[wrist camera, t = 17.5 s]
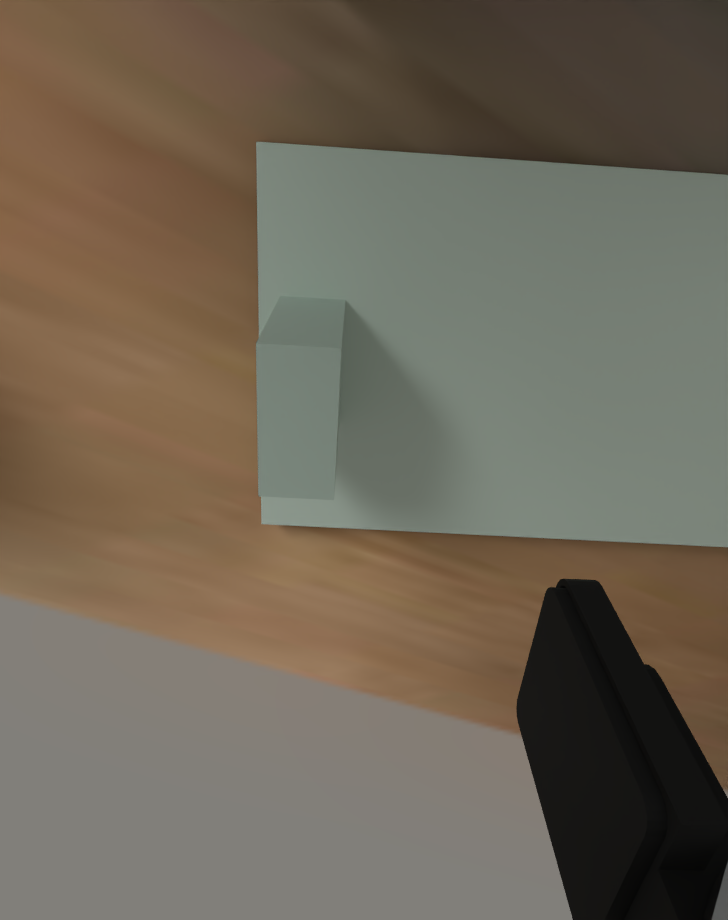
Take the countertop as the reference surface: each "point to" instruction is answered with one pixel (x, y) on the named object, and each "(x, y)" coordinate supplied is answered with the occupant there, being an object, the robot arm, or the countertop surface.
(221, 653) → the countertop surface
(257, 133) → the countertop surface
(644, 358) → the lid
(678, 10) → the countertop surface
